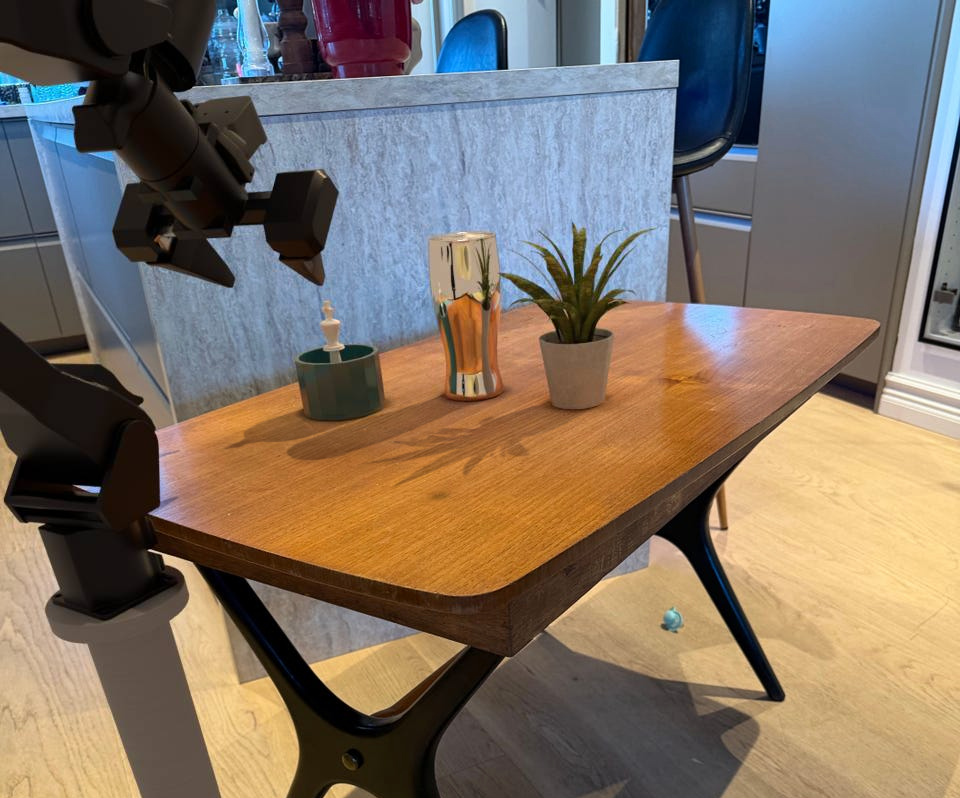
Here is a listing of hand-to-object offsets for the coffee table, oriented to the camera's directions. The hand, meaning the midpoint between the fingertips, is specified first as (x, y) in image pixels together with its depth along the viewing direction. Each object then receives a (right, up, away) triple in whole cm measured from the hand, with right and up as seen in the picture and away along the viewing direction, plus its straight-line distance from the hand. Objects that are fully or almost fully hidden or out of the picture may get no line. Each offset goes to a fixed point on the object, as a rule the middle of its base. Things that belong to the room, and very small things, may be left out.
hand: (276, 282), depth 78 cm
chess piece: (+4, -7, +13) cm, 15 cm away
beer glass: (+17, -6, +15) cm, 23 cm away
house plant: (+28, -8, +10) cm, 31 cm away
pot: (+4, -8, +13) cm, 16 cm away
